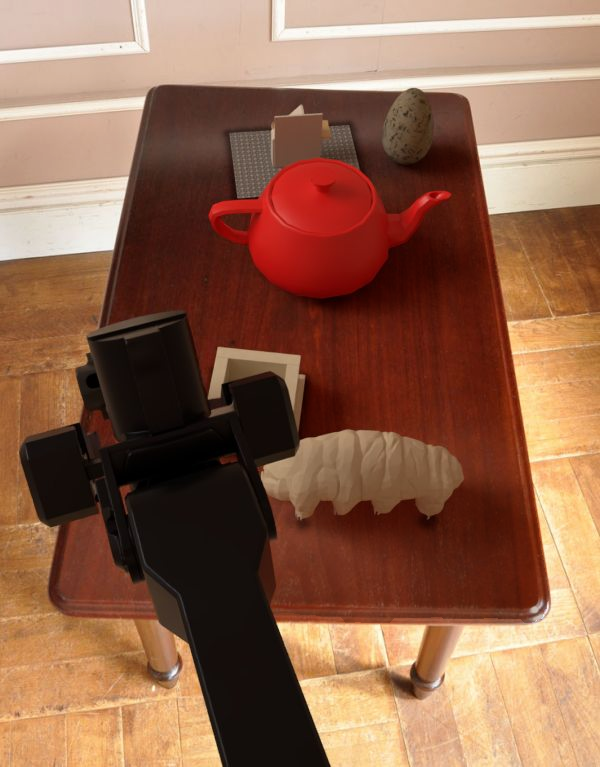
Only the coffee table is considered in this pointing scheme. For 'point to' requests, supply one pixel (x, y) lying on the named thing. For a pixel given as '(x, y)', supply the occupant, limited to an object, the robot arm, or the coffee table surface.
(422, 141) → the decorative egg
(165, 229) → the coffee table surface
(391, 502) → the model
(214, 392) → the holder
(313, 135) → the napkin holder
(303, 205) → the teapot
